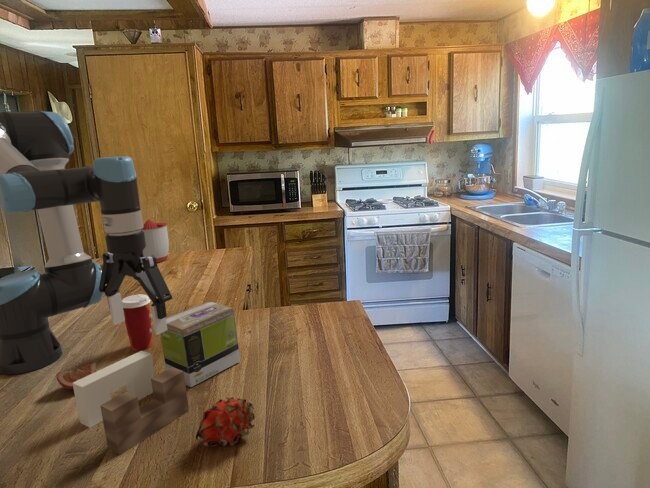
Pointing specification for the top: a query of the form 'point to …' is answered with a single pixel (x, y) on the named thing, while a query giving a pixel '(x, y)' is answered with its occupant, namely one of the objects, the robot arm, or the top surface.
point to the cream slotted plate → (113, 385)
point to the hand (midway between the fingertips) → (139, 327)
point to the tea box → (201, 341)
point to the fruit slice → (75, 375)
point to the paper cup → (138, 321)
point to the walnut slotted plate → (144, 411)
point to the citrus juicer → (156, 240)
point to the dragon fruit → (226, 422)
